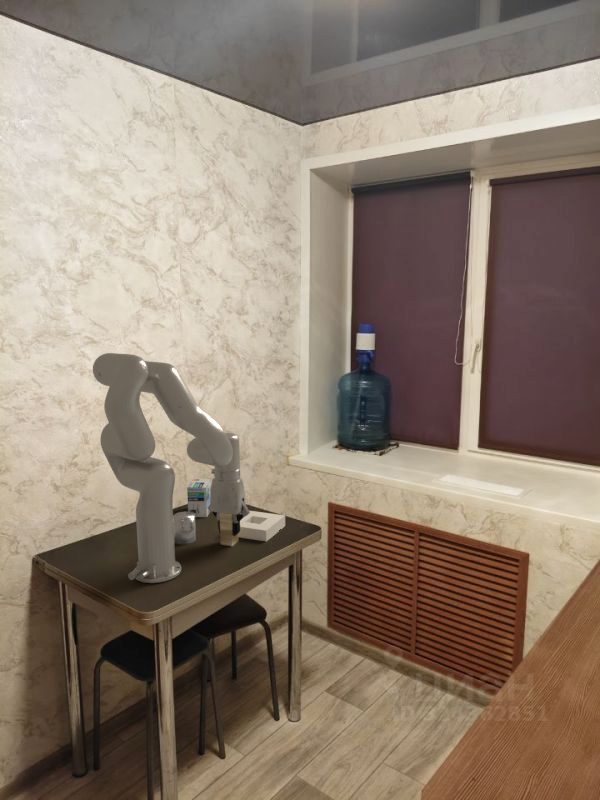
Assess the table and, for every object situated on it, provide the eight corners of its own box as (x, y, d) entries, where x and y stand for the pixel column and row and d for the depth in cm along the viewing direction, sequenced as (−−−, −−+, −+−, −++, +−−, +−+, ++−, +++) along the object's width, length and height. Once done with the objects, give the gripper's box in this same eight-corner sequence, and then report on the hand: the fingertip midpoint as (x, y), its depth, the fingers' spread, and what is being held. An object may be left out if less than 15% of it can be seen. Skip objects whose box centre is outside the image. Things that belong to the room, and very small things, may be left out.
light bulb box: (207, 517, 198) (206, 487, 196) (187, 517, 198) (186, 487, 197) (212, 507, 209) (211, 478, 207) (194, 507, 209) (192, 478, 207)
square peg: (232, 546, 174) (231, 514, 172) (220, 544, 175) (219, 512, 174) (238, 541, 177) (237, 510, 176) (227, 539, 179) (226, 508, 177)
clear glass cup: (188, 545, 175) (187, 520, 174) (169, 542, 177) (168, 517, 176) (200, 537, 181) (199, 513, 180) (182, 534, 183) (181, 510, 182)
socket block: (266, 541, 177) (266, 530, 177) (226, 535, 182) (226, 524, 182) (285, 525, 190) (285, 515, 189) (247, 520, 195) (247, 510, 195)
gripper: (196, 475, 173) (199, 533, 176) (246, 481, 166) (248, 541, 169) (209, 468, 180) (212, 525, 183) (258, 474, 173) (259, 532, 176)
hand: (229, 532), depth 176 cm, fingers closed on square peg, 4 cm apart
